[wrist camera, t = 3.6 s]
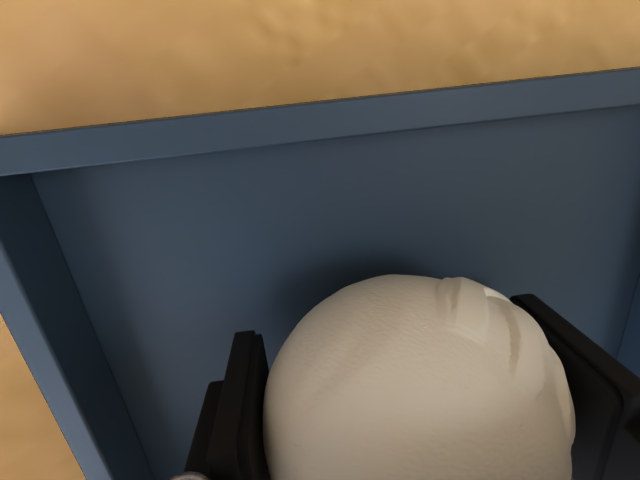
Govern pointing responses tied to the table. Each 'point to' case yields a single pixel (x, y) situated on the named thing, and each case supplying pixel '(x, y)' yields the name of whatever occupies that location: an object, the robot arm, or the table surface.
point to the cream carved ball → (417, 388)
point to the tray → (301, 236)
